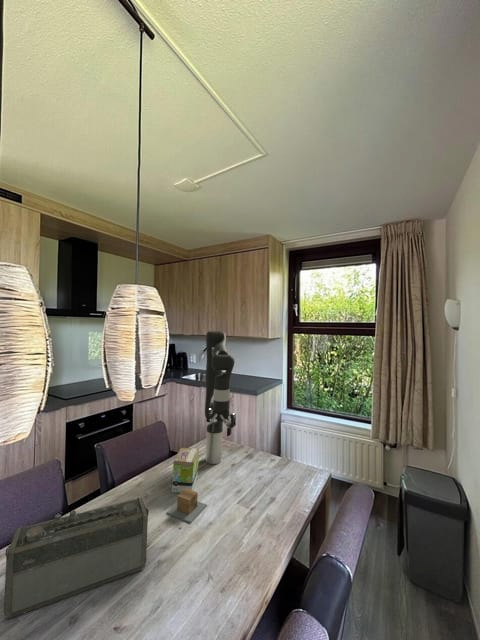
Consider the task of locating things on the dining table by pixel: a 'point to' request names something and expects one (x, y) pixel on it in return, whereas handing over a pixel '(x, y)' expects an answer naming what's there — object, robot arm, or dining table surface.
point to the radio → (74, 554)
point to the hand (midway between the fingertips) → (220, 433)
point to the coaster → (186, 517)
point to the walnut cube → (187, 501)
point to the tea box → (185, 469)
